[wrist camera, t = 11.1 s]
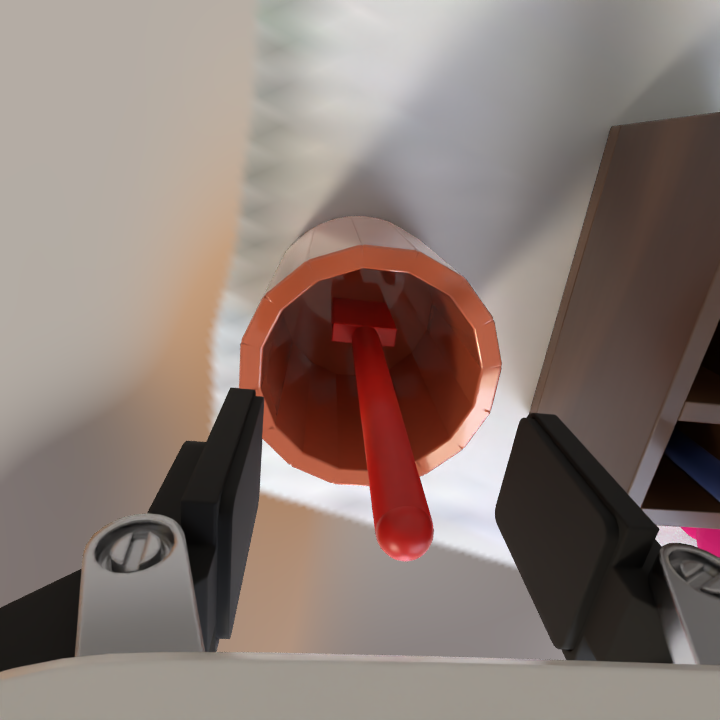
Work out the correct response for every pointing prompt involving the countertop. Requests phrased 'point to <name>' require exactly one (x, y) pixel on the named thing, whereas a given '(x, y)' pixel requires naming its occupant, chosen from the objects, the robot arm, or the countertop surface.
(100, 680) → the robot arm
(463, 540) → the countertop surface
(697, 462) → the blue rounded rod
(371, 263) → the crock
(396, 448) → the red toy mallet
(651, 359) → the caddy
